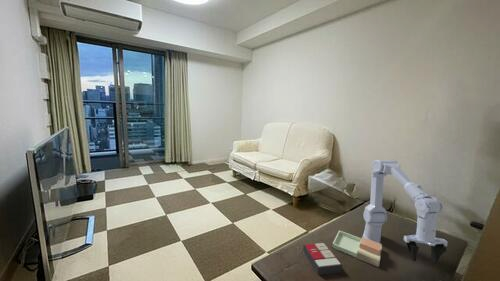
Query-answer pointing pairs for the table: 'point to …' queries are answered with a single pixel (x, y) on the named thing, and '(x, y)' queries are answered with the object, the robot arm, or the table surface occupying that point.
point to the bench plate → (368, 256)
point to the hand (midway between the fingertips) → (423, 260)
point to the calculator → (322, 259)
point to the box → (346, 243)
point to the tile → (370, 246)
